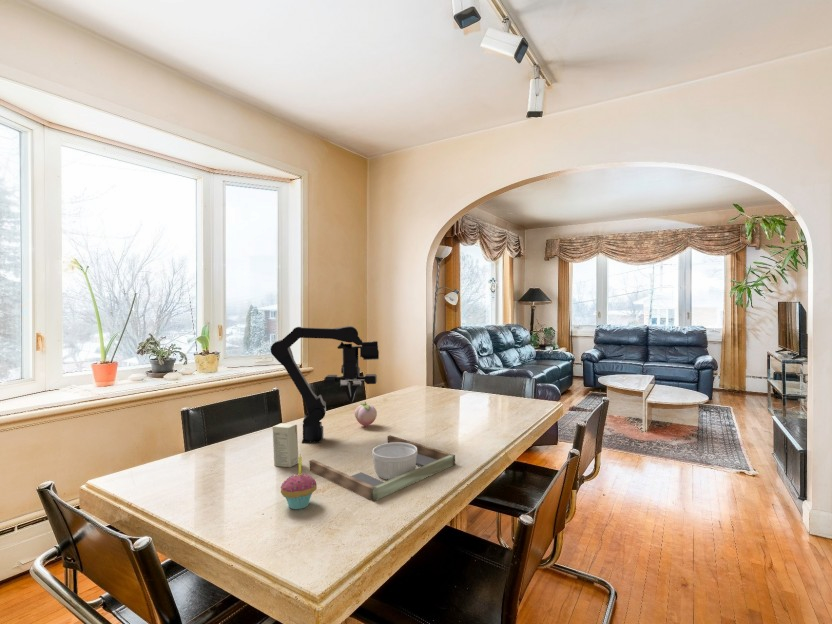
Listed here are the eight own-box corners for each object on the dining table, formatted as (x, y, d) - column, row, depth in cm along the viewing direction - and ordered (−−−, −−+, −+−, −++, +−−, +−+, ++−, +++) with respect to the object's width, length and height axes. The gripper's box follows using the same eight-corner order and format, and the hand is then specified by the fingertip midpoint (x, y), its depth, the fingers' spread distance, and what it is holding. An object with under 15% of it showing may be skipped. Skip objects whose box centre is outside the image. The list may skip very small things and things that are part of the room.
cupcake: (285, 497, 108) (284, 451, 108) (319, 496, 109) (318, 449, 108) (277, 514, 99) (276, 463, 99) (314, 512, 100) (313, 462, 100)
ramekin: (364, 478, 119) (363, 454, 119) (384, 462, 132) (383, 439, 132) (407, 485, 115) (407, 459, 115) (424, 467, 127) (423, 444, 127)
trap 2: (400, 459, 133) (400, 457, 133) (414, 454, 138) (414, 452, 138) (424, 468, 126) (424, 465, 126) (437, 462, 131) (437, 459, 131)
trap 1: (344, 481, 117) (344, 478, 117) (361, 475, 122) (361, 472, 122) (367, 492, 110) (367, 489, 110) (384, 485, 115) (384, 482, 115)
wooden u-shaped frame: (309, 470, 126) (309, 460, 125) (390, 443, 149) (389, 435, 149) (373, 501, 105) (373, 489, 105) (455, 464, 129) (455, 454, 129)
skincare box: (299, 462, 132) (298, 423, 132) (290, 468, 128) (289, 427, 127) (281, 460, 134) (281, 422, 134) (272, 465, 130) (272, 426, 130)
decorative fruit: (381, 427, 169) (380, 402, 168) (362, 431, 164) (362, 405, 164) (369, 422, 176) (369, 398, 176) (352, 425, 172) (351, 401, 172)
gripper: (377, 357, 164) (378, 397, 164) (329, 358, 163) (330, 398, 164) (375, 361, 153) (376, 404, 153) (323, 362, 152) (324, 405, 153)
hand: (351, 402), depth 156 cm, fingers closed
